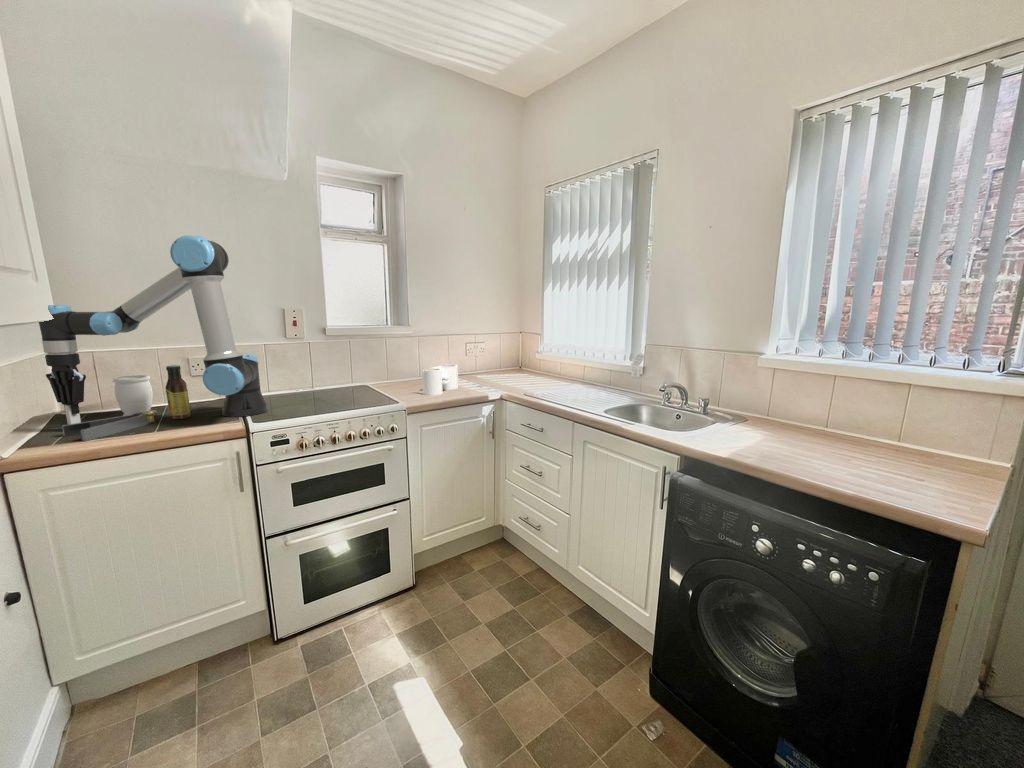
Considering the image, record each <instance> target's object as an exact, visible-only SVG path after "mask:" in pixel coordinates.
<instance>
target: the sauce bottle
mask: <svg viewBox="0 0 1024 768" xmlns="http://www.w3.org/2000/svg"><path fill="white" fill-rule="evenodd" d="M165 369H166V372H167V382H166V385H165V394H166V399H167V401H166V402H167V407H168V412H169V416H170V418H171V419H172V420H182V419H188V418H190V417H191V415H192V414H191V404H190V399H189V392H188V391H189V390H188V388H187V387H188V386H187V383H186V381H185V380H184V379H183V378H182V374H181V365H179V364H177V365H176V364H175V365H174V364H173V365H166V367H165Z"/></svg>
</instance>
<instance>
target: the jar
mask: <svg viewBox="0 0 1024 768" xmlns="http://www.w3.org/2000/svg"><path fill="white" fill-rule="evenodd" d="M150 379H151V376H150V375H145V374H144V375H143V374H141V375H139V374H138V375H137V374H136V375H126V376H119V377H115V378H112V382H113V383H115V384H114V396H115V399H116V403H117V404H118V406H119V407H118V408H119V410H120V411H122V413H123V414H122V416H126V415H132V414H133V413H139V412H144V411H150V410H152V409H151V408H152V406H153V396H154V395H153V393H154V392H153V387H152V384H151V382H150V381H149V380H150Z"/></svg>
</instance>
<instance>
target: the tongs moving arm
mask: <svg viewBox="0 0 1024 768" xmlns="http://www.w3.org/2000/svg"><path fill="white" fill-rule="evenodd" d="M157 413H158V411H157V410H155V409H153V410H152V409H150V411H144V412H139V413H133V414H132V415H126V416H123V415H121V416H114V417H107V418H103V419H95V420H89V421H81V422H80V423H75V424H63V425H61V427H62V428H61V429H62V433H63V434H62V435H63V437H65V438H67V437H72V436H77V435H80V430H82V429H86V428H90V427H94V426H98V425H104V424H108V423H112V422H116V421H120V420H124V419H128V418H132V417H136V416H140V415H157Z"/></svg>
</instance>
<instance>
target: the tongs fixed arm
mask: <svg viewBox="0 0 1024 768" xmlns="http://www.w3.org/2000/svg"><path fill="white" fill-rule="evenodd" d="M154 415H155V414H153V415H140V416H136V417H132V418H128V419H124V420H120V421H116V422H112V423H108V424H104V425H98V426H94V427H90V428H86V429H82V430H80V434H79V435H80V438H81V439H80V440H81V442H88V440H89V441H91V440H95V439H99V437H100V438H102V437H106V436H110V435H114V434H117V433H120V432H121V433H122V432H125V431H128V430H131V429H135V428H136V429H137V428H140V427H144V426H147V425H149V424H151V423H155V417H154Z"/></svg>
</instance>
